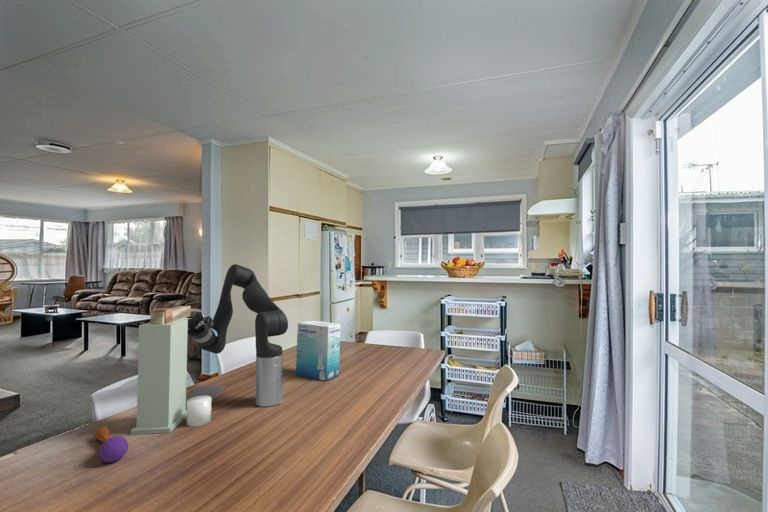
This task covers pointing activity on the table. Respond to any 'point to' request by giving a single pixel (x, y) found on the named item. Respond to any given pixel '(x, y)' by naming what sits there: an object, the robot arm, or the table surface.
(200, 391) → the mat
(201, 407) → the white short cylinder
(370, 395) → the table surface
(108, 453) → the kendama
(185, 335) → the stand
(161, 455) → the table surface
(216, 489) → the table surface
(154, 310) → the catapult arm
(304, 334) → the toothbrush box
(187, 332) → the robot arm
